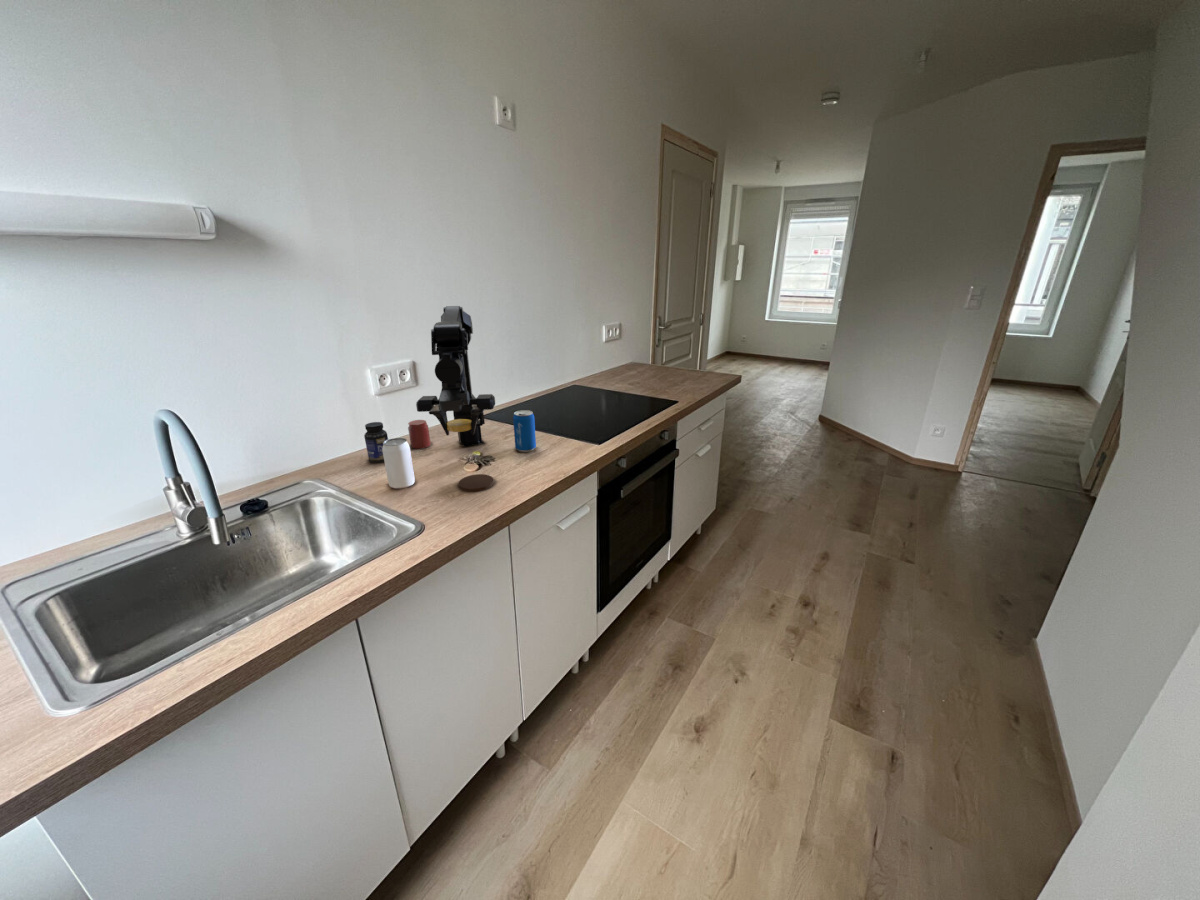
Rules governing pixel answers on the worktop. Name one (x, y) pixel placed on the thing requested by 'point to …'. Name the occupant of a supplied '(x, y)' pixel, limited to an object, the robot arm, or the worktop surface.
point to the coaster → (476, 482)
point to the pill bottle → (375, 441)
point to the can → (398, 463)
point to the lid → (459, 425)
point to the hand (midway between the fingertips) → (460, 434)
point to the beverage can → (524, 430)
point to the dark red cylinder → (419, 434)
